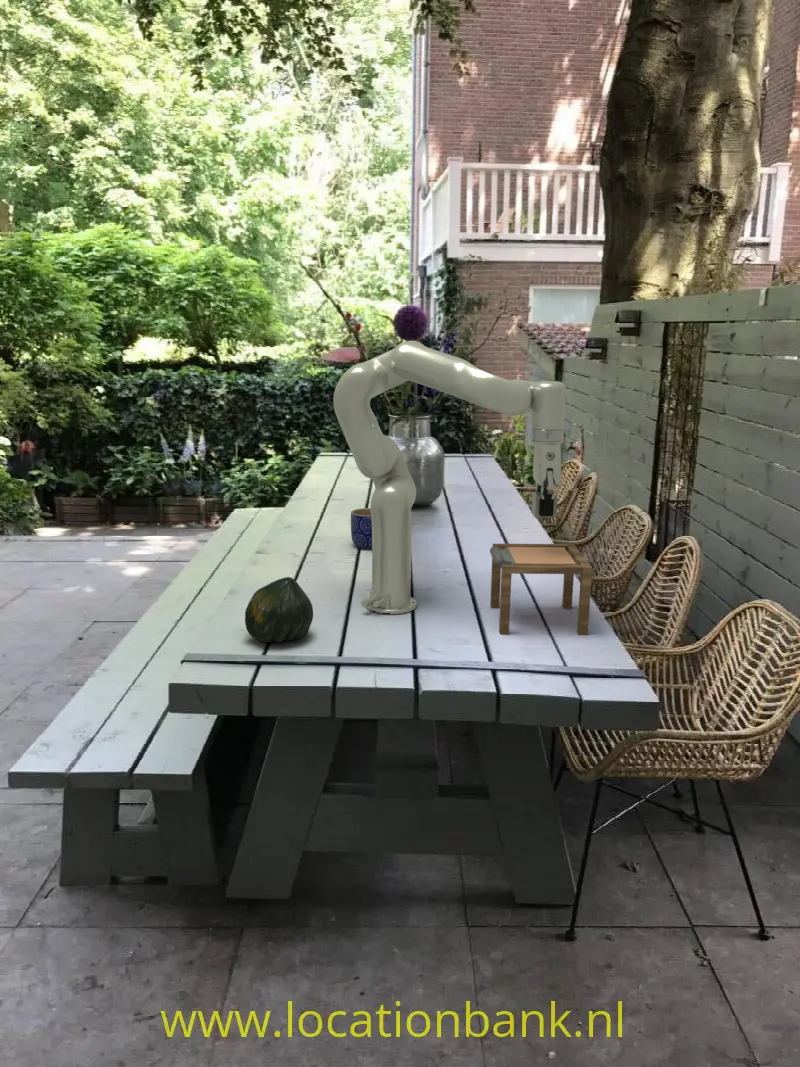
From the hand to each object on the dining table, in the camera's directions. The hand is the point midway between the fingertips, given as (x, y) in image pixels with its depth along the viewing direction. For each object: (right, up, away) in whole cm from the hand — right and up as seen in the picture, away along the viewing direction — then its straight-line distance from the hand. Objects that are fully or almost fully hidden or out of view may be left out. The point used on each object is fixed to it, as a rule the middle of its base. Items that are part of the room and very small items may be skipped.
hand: (543, 512), depth 203 cm
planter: (-43, -9, +65) cm, 79 cm away
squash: (-61, -28, -9) cm, 68 cm away
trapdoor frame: (-1, -26, +4) cm, 26 cm away
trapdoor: (-3, -12, 0) cm, 12 cm away
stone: (0, -1, 0) cm, 1 cm away
